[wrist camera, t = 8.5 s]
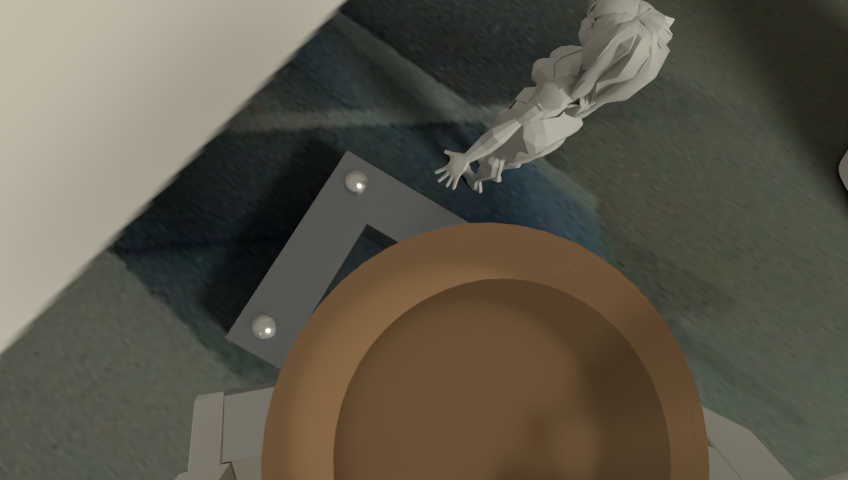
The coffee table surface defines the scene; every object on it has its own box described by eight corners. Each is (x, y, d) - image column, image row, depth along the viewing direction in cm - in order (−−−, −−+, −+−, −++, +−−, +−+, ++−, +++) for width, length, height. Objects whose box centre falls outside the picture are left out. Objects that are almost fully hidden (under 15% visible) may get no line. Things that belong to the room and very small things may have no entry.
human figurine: (541, 119, 37) (736, -88, 20) (571, 166, 37) (795, -3, 19) (389, 198, 34) (462, 35, 17) (420, 251, 34) (527, 140, 16)
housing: (344, 167, 34) (347, 147, 31) (509, 266, 34) (529, 256, 31) (233, 339, 31) (223, 337, 27) (418, 444, 31) (429, 454, 28)
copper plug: (347, 286, 19) (423, 133, 6) (470, 359, 19) (784, 359, 6) (266, 420, 17) (141, 581, 5) (400, 496, 18) (622, 842, 5)
